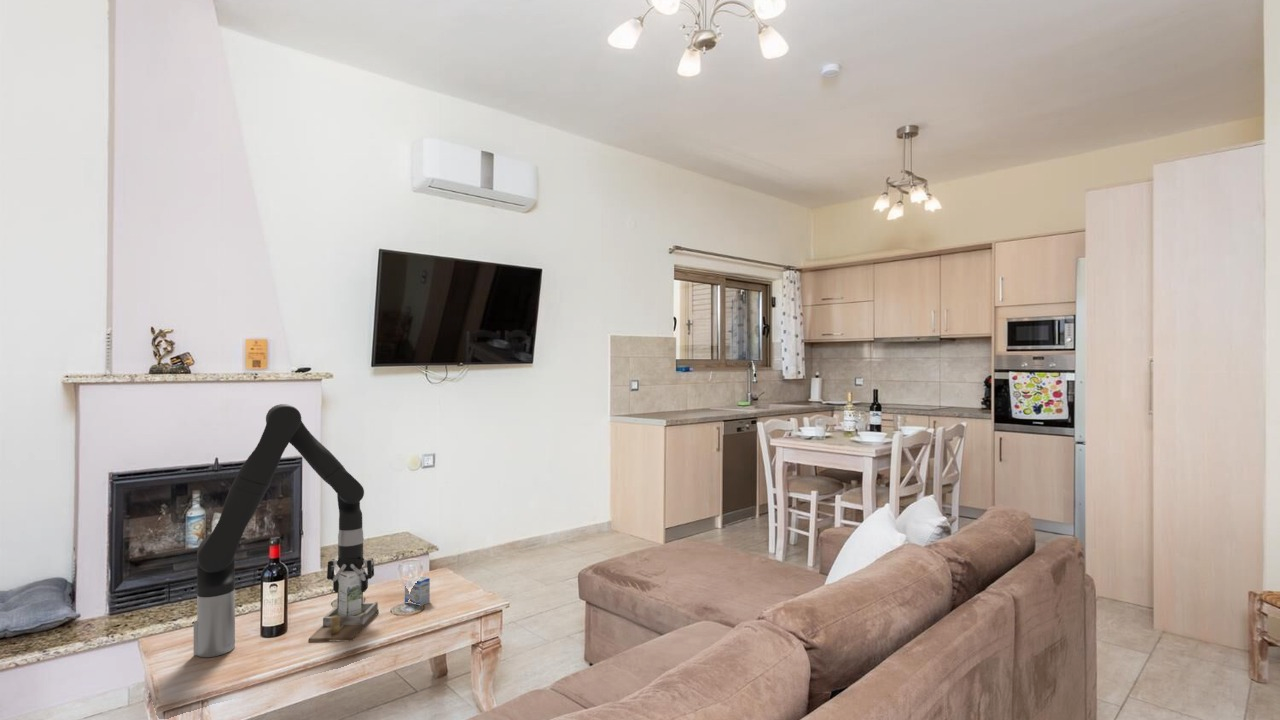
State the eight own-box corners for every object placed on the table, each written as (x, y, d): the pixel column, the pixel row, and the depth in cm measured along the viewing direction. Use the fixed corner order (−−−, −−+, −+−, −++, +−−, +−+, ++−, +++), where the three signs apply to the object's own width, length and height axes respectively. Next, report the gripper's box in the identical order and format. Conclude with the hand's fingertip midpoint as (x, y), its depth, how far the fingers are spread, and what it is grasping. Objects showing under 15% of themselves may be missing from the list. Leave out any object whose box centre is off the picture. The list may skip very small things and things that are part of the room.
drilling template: (308, 641, 189) (308, 622, 189) (339, 613, 211) (339, 595, 211) (352, 640, 190) (352, 620, 190) (378, 612, 212) (378, 594, 212)
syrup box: (353, 609, 209) (353, 565, 209) (363, 613, 206) (363, 569, 206) (337, 615, 204) (337, 570, 205) (346, 619, 201) (346, 573, 201)
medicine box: (404, 602, 220) (404, 578, 221) (414, 598, 224) (414, 574, 224) (420, 606, 217) (420, 581, 217) (430, 602, 221) (430, 577, 221)
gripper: (323, 545, 201) (323, 596, 201) (368, 544, 202) (368, 595, 202) (333, 539, 209) (333, 588, 209) (377, 538, 210) (377, 587, 209)
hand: (350, 591), depth 205 cm, fingers closed on syrup box, 8 cm apart
